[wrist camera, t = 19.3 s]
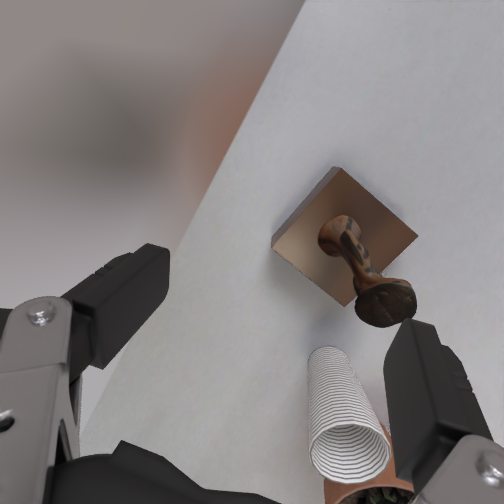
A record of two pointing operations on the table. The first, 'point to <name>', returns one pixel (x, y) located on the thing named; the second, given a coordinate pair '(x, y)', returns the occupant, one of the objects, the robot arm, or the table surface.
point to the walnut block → (327, 208)
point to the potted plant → (372, 488)
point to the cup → (342, 422)
